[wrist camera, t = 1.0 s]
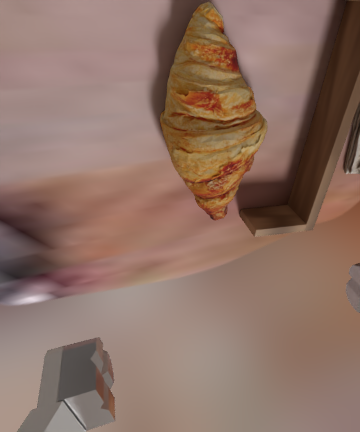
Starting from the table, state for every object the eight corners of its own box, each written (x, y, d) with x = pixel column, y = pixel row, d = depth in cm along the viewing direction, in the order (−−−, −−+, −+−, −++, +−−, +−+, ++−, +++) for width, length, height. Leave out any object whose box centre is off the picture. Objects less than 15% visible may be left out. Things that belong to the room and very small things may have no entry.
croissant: (157, 6, 30) (125, 17, 23) (271, -10, 27) (269, -3, 21) (185, 199, 42) (169, 239, 36) (265, 201, 39) (263, 244, 33)
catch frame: (239, 215, 42) (254, 237, 38) (285, -19, 28) (316, -20, 24) (293, 210, 44) (312, 230, 40) (362, -12, 30) (400, -12, 26)
